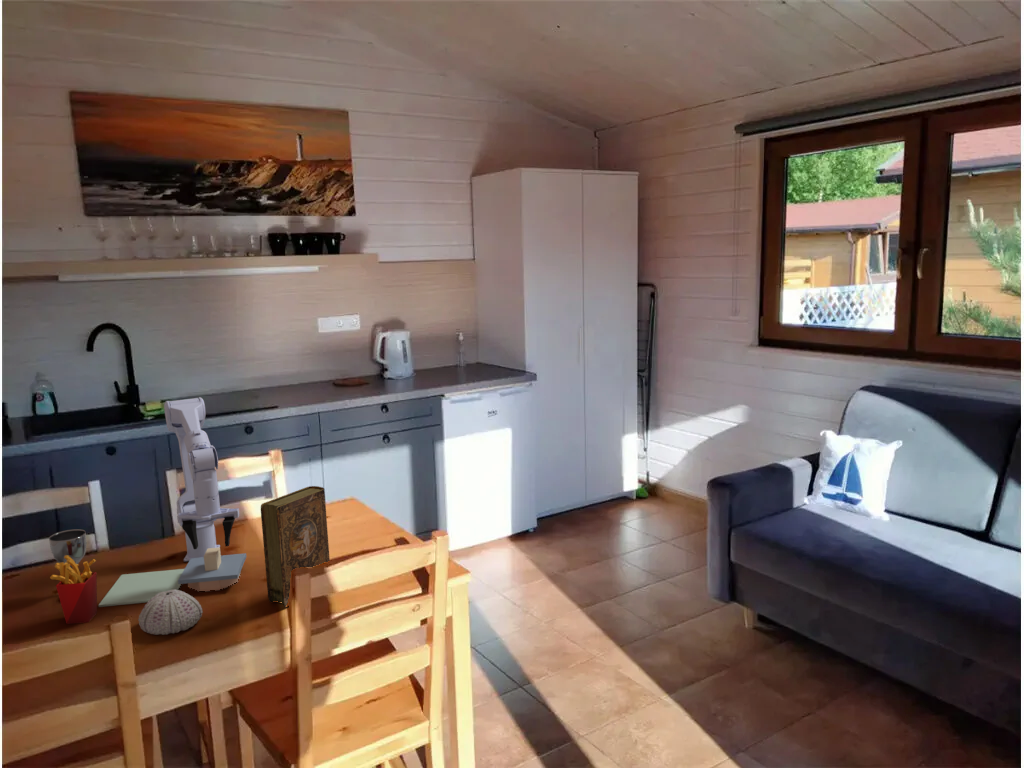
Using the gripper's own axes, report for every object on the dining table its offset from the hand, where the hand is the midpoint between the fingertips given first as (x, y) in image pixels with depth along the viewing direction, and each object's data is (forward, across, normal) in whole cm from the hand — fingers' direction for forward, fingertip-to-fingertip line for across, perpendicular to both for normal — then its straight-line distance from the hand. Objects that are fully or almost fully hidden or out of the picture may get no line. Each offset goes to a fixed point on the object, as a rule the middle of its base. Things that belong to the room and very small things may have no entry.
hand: (211, 546), depth 198 cm
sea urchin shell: (+10, -5, -23) cm, 25 cm away
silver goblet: (+10, -34, +2) cm, 35 cm away
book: (+10, +23, -13) cm, 28 cm away
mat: (+9, -17, 0) cm, 19 cm away
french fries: (+10, -28, -15) cm, 33 cm away
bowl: (+9, 0, 0) cm, 9 cm away
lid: (+6, 0, 0) cm, 6 cm away
